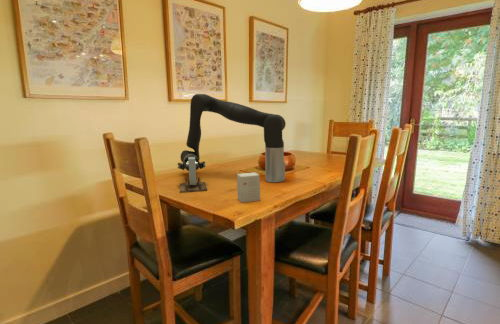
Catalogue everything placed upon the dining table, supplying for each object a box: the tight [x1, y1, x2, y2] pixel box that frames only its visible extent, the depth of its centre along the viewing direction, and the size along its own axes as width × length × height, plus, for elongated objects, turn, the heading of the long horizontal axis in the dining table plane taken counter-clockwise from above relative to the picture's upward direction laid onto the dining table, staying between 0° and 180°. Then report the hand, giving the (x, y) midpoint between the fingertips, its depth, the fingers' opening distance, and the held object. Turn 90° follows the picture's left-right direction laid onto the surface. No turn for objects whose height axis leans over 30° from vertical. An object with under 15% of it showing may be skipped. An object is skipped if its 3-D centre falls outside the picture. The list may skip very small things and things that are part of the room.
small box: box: [236, 171, 261, 203], centre depth 116 cm, size 8×6×10 cm
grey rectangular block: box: [188, 157, 197, 185], centre depth 135 cm, size 3×6×12 cm, turn 13°
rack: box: [179, 176, 208, 194], centre depth 136 cm, size 12×14×3 cm
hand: (192, 168), depth 132 cm, fingers closed on grey rectangular block, 3 cm apart
